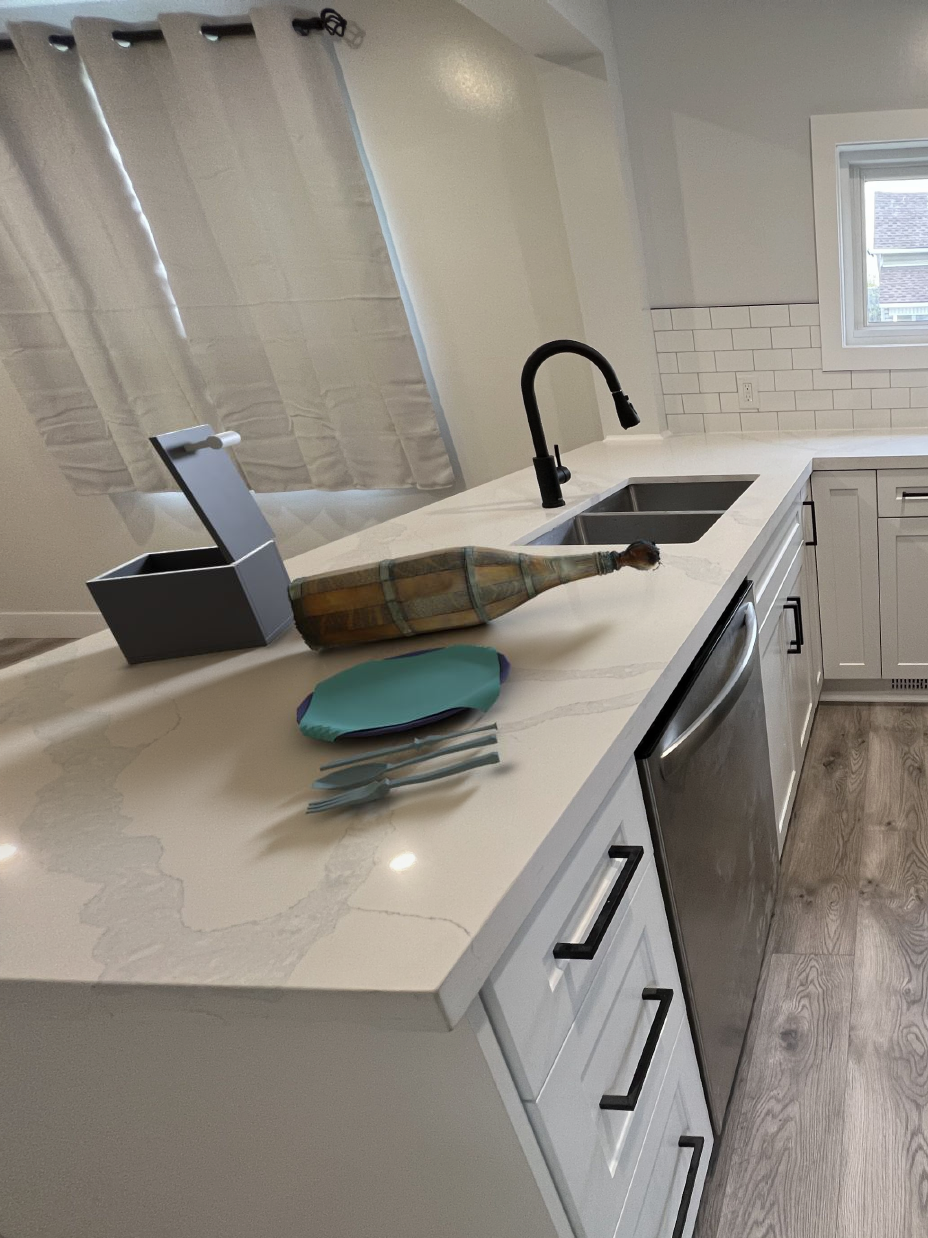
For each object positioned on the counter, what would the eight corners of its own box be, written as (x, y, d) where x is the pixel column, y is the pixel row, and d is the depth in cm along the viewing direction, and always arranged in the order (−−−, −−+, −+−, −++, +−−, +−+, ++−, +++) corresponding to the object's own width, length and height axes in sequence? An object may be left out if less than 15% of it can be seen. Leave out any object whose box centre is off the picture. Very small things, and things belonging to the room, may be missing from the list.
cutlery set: (510, 647, 87) (505, 630, 86) (526, 766, 63) (520, 745, 62) (320, 685, 79) (313, 667, 78) (254, 838, 55) (242, 815, 54)
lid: (147, 437, 78) (195, 428, 79) (202, 425, 89) (244, 416, 90) (228, 563, 85) (271, 553, 86) (270, 537, 96) (308, 528, 97)
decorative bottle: (286, 648, 81) (673, 582, 96) (269, 561, 82) (657, 510, 97) (324, 658, 91) (669, 597, 107) (309, 580, 92) (654, 531, 107)
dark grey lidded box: (128, 664, 86) (84, 582, 82) (180, 627, 97) (144, 553, 92) (267, 645, 90) (233, 566, 86) (303, 611, 101) (274, 540, 97)
